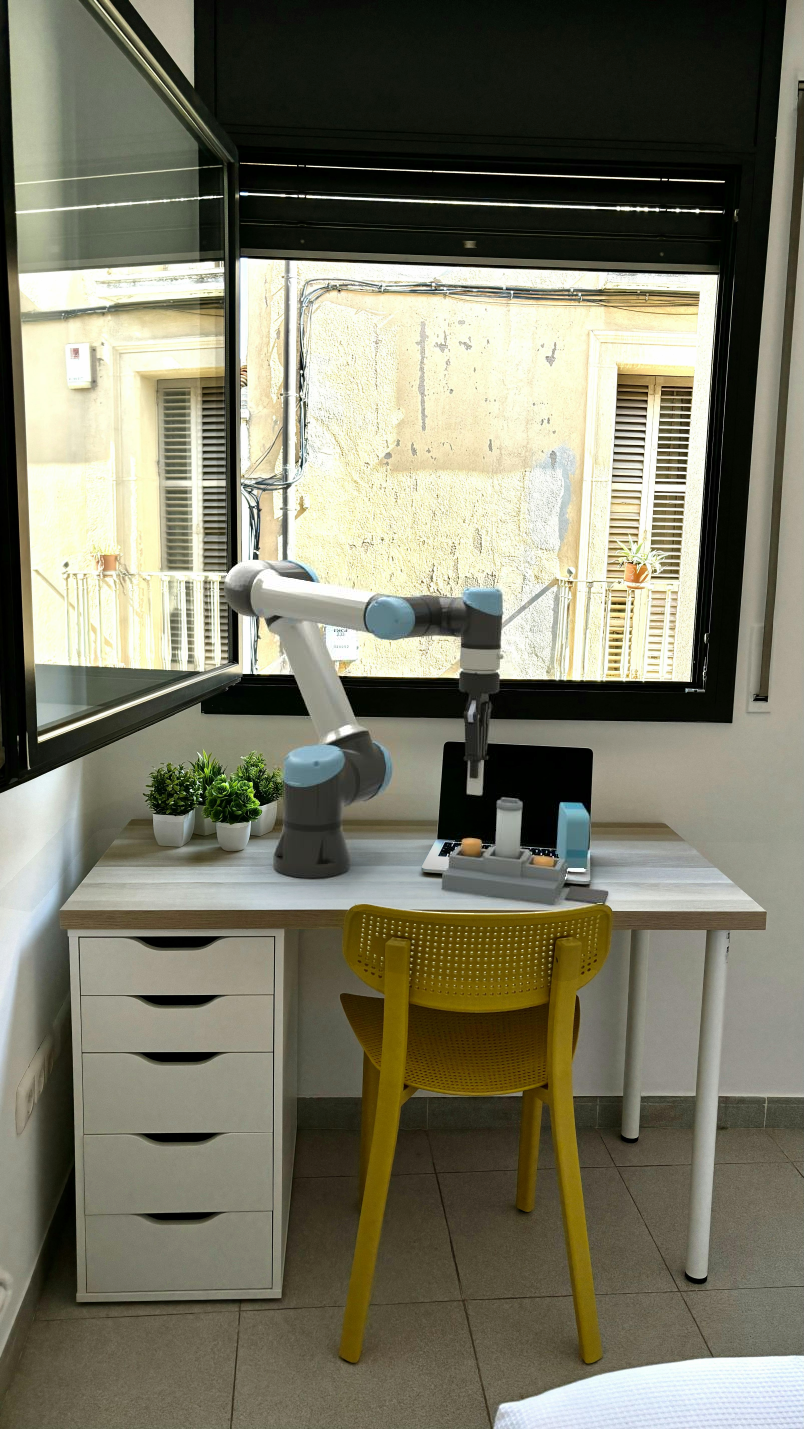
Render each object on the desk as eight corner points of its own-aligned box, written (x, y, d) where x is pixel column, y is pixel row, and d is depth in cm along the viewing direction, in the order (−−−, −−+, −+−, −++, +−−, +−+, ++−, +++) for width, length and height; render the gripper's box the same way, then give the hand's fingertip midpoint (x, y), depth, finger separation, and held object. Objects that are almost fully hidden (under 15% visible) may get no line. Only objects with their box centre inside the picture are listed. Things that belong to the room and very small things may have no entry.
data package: (586, 875, 195) (590, 816, 193) (563, 874, 195) (567, 815, 193) (577, 856, 207) (581, 801, 205) (556, 855, 207) (559, 800, 205)
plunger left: (459, 855, 188) (459, 842, 188) (464, 849, 192) (464, 837, 191) (478, 857, 187) (479, 844, 186) (483, 852, 190) (483, 839, 190)
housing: (441, 889, 184) (442, 858, 183) (462, 864, 199) (464, 836, 198) (553, 904, 177) (555, 872, 176) (566, 878, 192) (568, 848, 191)
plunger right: (531, 873, 184) (531, 860, 184) (534, 867, 188) (535, 855, 187) (551, 876, 183) (552, 863, 183) (554, 870, 187) (555, 857, 186)
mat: (564, 899, 180) (565, 897, 180) (570, 888, 187) (570, 886, 187) (603, 905, 178) (603, 903, 178) (607, 893, 185) (608, 890, 185)
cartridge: (491, 870, 186) (494, 800, 184) (496, 863, 190) (500, 794, 188) (516, 873, 185) (520, 802, 182) (521, 866, 189) (524, 797, 187)
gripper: (491, 675, 176) (486, 803, 180) (506, 668, 189) (501, 788, 192) (451, 673, 179) (446, 799, 182) (468, 666, 191) (463, 784, 195)
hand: (474, 793), depth 187 cm, fingers closed
